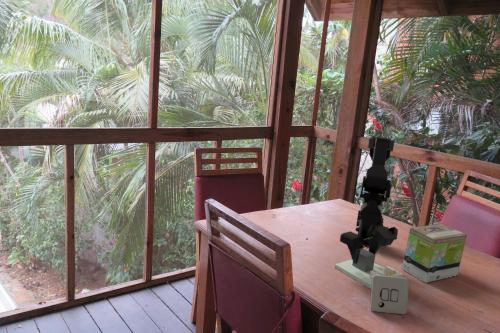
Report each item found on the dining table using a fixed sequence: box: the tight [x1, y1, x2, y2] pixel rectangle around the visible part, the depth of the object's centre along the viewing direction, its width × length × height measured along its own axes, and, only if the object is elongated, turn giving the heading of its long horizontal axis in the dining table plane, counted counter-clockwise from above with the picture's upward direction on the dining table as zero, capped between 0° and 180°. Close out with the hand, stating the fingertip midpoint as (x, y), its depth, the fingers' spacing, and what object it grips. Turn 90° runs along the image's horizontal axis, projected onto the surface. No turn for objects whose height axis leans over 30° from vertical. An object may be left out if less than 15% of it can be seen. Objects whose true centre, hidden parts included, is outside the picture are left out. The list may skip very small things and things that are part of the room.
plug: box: [352, 248, 376, 272], centre depth 126 cm, size 4×5×5 cm
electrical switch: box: [369, 275, 410, 315], centre depth 106 cm, size 9×5×9 cm, turn 86°
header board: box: [334, 259, 404, 290], centre depth 124 cm, size 17×13×4 cm
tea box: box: [401, 223, 468, 284], centre depth 128 cm, size 15×10×15 cm, turn 117°
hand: (363, 261), depth 126 cm, fingers open, 7 cm apart
